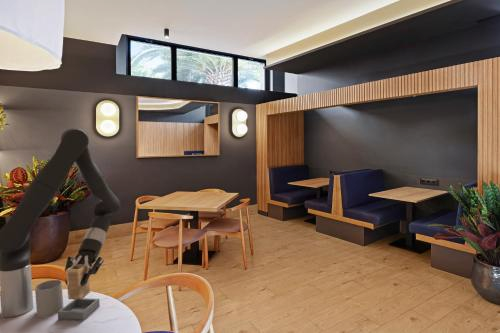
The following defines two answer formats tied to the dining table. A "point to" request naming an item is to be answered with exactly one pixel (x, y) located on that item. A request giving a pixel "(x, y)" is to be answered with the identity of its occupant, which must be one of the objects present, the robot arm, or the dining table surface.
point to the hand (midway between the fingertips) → (75, 284)
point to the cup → (49, 297)
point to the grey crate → (78, 309)
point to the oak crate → (77, 282)
